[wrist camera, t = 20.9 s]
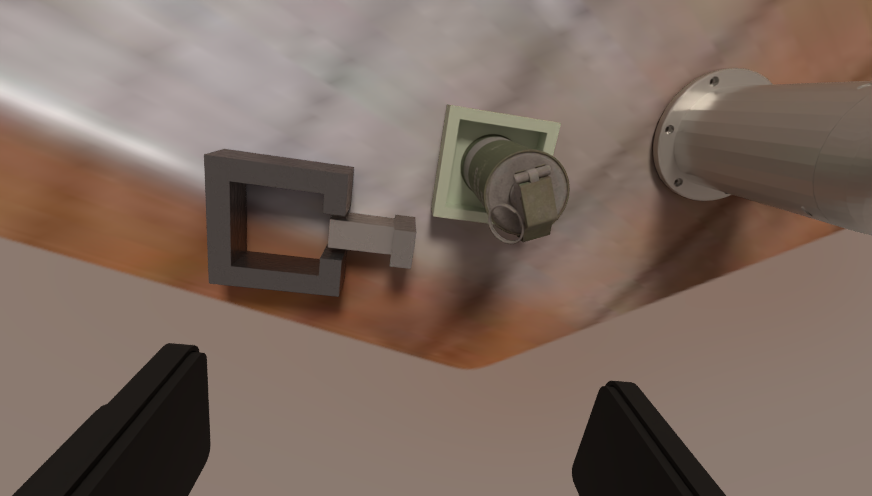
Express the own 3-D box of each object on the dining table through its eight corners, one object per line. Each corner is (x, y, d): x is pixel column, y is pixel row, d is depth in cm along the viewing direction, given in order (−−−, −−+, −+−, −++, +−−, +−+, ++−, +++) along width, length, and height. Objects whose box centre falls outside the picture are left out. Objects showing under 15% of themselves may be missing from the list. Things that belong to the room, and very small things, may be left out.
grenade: (453, 144, 38) (481, 171, 24) (515, 126, 38) (580, 143, 24) (468, 207, 40) (503, 265, 26) (527, 190, 40) (593, 240, 26)
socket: (353, 167, 39) (348, 174, 36) (344, 279, 43) (338, 296, 40) (223, 148, 38) (204, 154, 34) (226, 266, 42) (208, 283, 38)
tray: (548, 121, 39) (561, 123, 36) (525, 220, 42) (534, 229, 39) (446, 104, 38) (450, 105, 35) (431, 207, 41) (433, 216, 38)
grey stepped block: (414, 217, 41) (416, 232, 37) (410, 250, 43) (410, 268, 38) (335, 207, 41) (326, 221, 36) (332, 240, 42) (323, 258, 37)
